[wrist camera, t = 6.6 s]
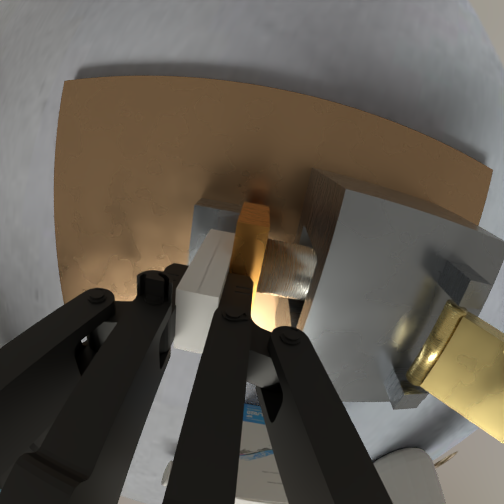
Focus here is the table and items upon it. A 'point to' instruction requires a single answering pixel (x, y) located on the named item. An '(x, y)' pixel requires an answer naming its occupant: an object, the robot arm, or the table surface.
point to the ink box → (257, 463)
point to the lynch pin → (270, 257)
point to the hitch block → (277, 211)
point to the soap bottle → (410, 477)
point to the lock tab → (464, 367)
